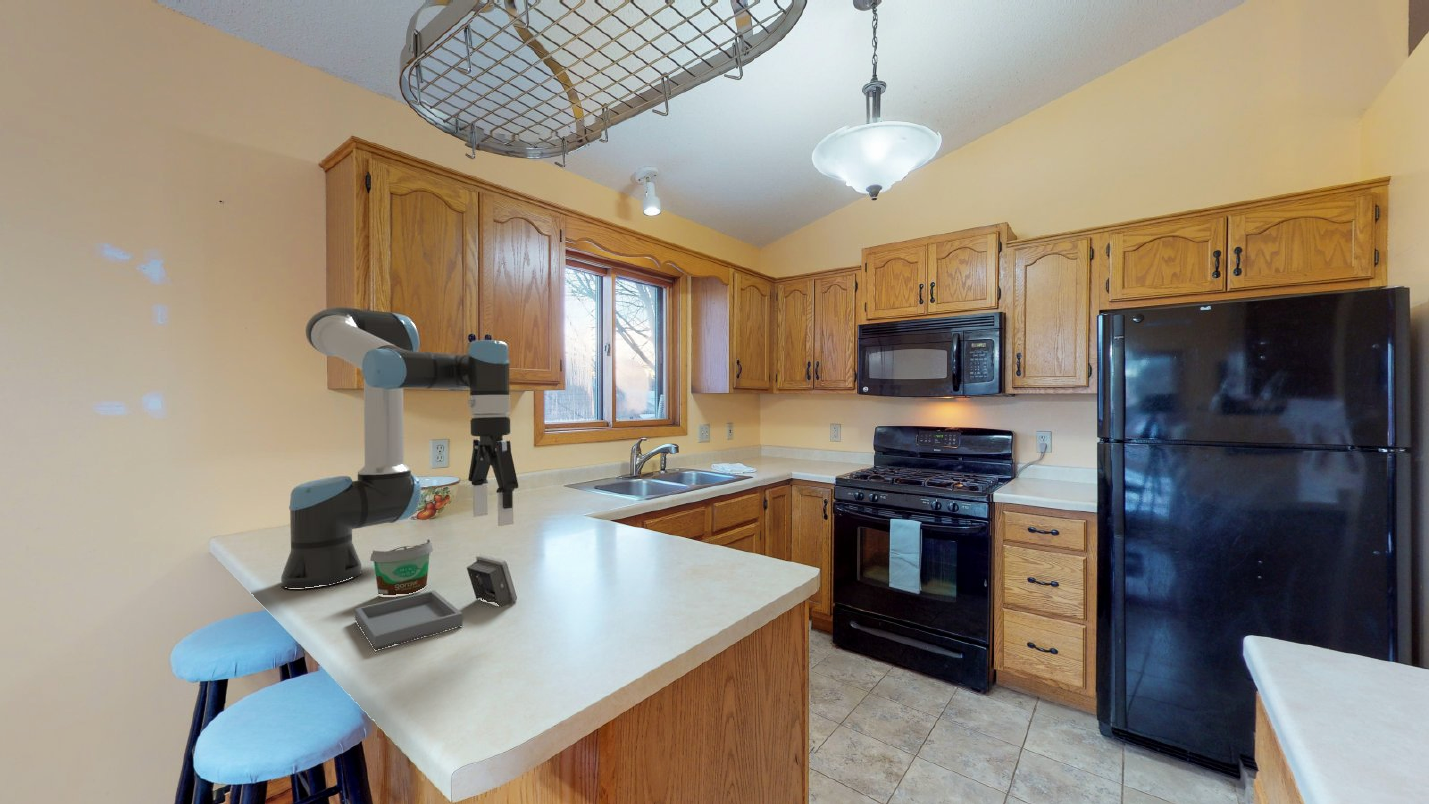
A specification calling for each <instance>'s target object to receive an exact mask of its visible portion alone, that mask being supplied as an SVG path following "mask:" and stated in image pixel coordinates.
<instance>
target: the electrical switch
mask: <svg viewBox="0 0 1429 804" xmlns="http://www.w3.org/2000/svg"><path fill="white" fill-rule="evenodd" d="M475 558H476V561H474V562H473V563H472V564H470V565H468V566H466V571H467V573H468V577H469V581H470V583H471V586H472V590H473V593H474V595H475V596H474V597H475V599H476V600H478V598H482V600H483V599H484V600H486V601H487V602H495V603H497V604H498V605H499V607H498V608H500V607H502V606H504V605H505V604H507V603H508V602H510V603H512V602H514V603H515V602H516V601H518V596H517V594H516V593H517V591H516V590H515V586H514V583H513V579H512V575H511V572H510V569H509V565H508V563H507V561H506V560H504V559H500V558H495V557H492V556H486V555H483V554H482V555H481V554H480V555H478V556H475ZM493 596H494V597H493Z"/></svg>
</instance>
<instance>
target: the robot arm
mask: <svg viewBox="0 0 1429 804" xmlns="http://www.w3.org/2000/svg"><path fill="white" fill-rule="evenodd" d="M418 332H419V331H418V329H417V327H416V324H415V323H414V322H413V320H412V319H411V318H410V317H409V316H406V315H404V314H399V313H395V312H394V313H393V312H391V311H388V312H387V311H379V310H378V311H377V310H370V309H360V308H351V307H345V306H344V307H343V306H342V307H341V306H335V307H330V308H326V309H322V310H320V311H318V312H316V313H315V314H314V315H312V316H311V318H309V320H308V322H307V324H306V326H305V336H306V340H307V342H308V343H309V344H310V346H312V348H314V349H315V350H317V351H318V352H320V353H321V354H323V355H325V356H328V357H333V358H334V357H338V358H339V359H342V360H343V361H345V362H347V363H349V364H350V365H352V366H354V367H355V368H358V369H359V370H361V374H362V377H363V418H364V419H363V423H364V424H363V426H364V427H363V428H364V429H363V430H364V433H363V434H364V436H363V437H364V445H363V446H364V465H363V467H362V468H360V469H359V471H357V480H355V481H353V479H352V478H351V476H349V475H348V476H347V475H343V476H333V477H325V478H319V479H315V480H311V481H307V482H304V483H303V482H302V483H301V484H299V485H297V486H295V487H294V488H293V489H292V490H291V492H290V501H289V506H288V508H289V510H290V514H289V515H290V525H289V526H290V552H289V556H288V557H287V561H286V563H285V565H284V568H283V571H282V574H281V577H280V578H281V585H282V586H283V587H287V588H305V587H314V586H319V585H329V584H333V583H337V582H340V581H343V580H346V579H349V578H351V577H355V576H357V575H359V574H360V572H361V573H362V562H361V559H360V558H359V555H358V552H357V550H356V548H355V546H354V543H353V530H355V529H361V528H366V527H371V526H372V527H373V526H377V525H382V524H388V523H389V524H393V523H396V522H399V521H404V520H406V519H409V518H411V517H412V516H413V515H414V514H415V512H416V511H417V510H418V508H419V505H420V501H421V496H422V489H421V488H422V487H421V484H420V480H419V478H418V477H417V476H416V475H414V474H412V473H411V471H412V470H411V467H409V466H408V465H407V464H406V463H405V448H404V447H405V441H404V439H405V437H404V432H405V431H404V389H412V390H413V389H416V390H419V389H422V390H423V389H424V390H425V389H426V390H427V389H428V390H429V389H430V390H449V391H463V390H469V396H470V399H469V400H468V401H467V404H468V406H469V407H470V415H472V416H473V417H471V419H470V435H471V436H472V437H479V438H475V439H474V438H473V440H472V453H471V458H470V459H471V460H470V465H469V466H470V468H469V470H468V471H469V472H468V479H467V480H468V481H469V482H471V485H472V505H473V506H472V508H473V509H472V511H473V512H472V513H473V515H472V516H473V517H475V518H476V517H483V516H488V515H489V514H488V510H489V508H488V484H489V481H488V479H487V478H488V474H489V471H490V468H491V467H492V472H493V474H494V476H495V479H496V484H497V486H498V487H497V488H496V491H495V492H496V493H497V526H498V527H504V526H508V525H509V526H510V525H514V491H515V489H516V490H517V489H518V488H519V482H518V478H517V477H518V476H517V473H516V468H515V464H514V458H513V454H512V448H511V444H512V443H511V440H509V439H507V440H504V439H503V436H508V435H510V434H511V418H510V416H509V417H508V415H510V414H511V395H510V362H511V361H510V359H509V347H508V346H509V345H508V344H507V343H506V342H504V341H501V340H495V339H494V340H492V339H479V340H478V339H477V340H472V341H471V342H470V343H469V345H468V353H444V352H430V351H429V352H428V351H419V349H420V337H419V333H418ZM360 575H361V574H360ZM360 575H359V576H360ZM357 577H358V576H357ZM281 585H280V586H281ZM282 586H281V587H282ZM283 587H282V588H283Z"/></svg>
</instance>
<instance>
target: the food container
mask: <svg viewBox="0 0 1429 804" xmlns="http://www.w3.org/2000/svg"><path fill="white" fill-rule="evenodd" d="M433 551H434V548H433V543H432V542H431V539H429V538H427V541H426V543H425V542H424V543H422V544H418V545H417V544H416V545H407V546H401V547H397V548H394V549H390V550H388V551H385V550H384V551H383V550H382V551H381V550H379V551H378V550H372V553H371V556H370V559H369V561H371V562H373V565H374V572H375V580H376V587H377V589H376V590H377V595H378V594H383V595H396V594H409V593H413V592H416V591H418V590H420V589H422V588H424V587H425V586H426V585H427V584H428V574H429V565H430V564H429V563H430V562H429V561H430V555H431V553H432V552H433Z"/></svg>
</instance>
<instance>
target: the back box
mask: <svg viewBox="0 0 1429 804" xmlns="http://www.w3.org/2000/svg"><path fill="white" fill-rule="evenodd" d="M354 611H355V612H354V615H355V617H354V621H355V620H356V621H357V623H358V625H359V627H361V629H362V631H363V632H364V634H365V636H366V637H367V638H368V640H369V641H370V643H371V644H372V646H373V648H374V649H375V650H378V649H382V648H385V647H388V646H392V645H394V644H401V643H404V642H407V641H411V640H414V639H417V638H421V637H424V636H429V637H431V636H430V635H432V636H434V635H433V634H436V633H439V634H441V633H440V632H443V631H445V630H449V629H452V628H455V627H460V626H462V627H463V612H462V611H460V610H459V609H458V608H457V607H455V605H453V604H452V603H450V601H448V600H447V599H445V597H444V596H442V595H440V594H439V593H438V592H437V591H436V590H434V589H433V590H429V591H424V592H419V593H416V594H412V595H408V596H403V597H398V598H395V599H394V598H393V599H390V600H386V601H382V602H377V603H372V604H369V605H365V606H360V607H357V608H354ZM358 625H357V626H358ZM359 627H358V628H359ZM460 628H461V627H460ZM362 631H361V632H362ZM443 633H444V632H443ZM364 634H363V635H364ZM436 635H437V634H436ZM365 636H364V637H365ZM366 637H365V638H366ZM368 640H367V641H368ZM411 642H412V641H411ZM370 643H369V644H370ZM404 644H405V643H404ZM401 645H402V644H401ZM372 646H371V647H372ZM373 648H372V649H373ZM374 649H373V650H374Z"/></svg>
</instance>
